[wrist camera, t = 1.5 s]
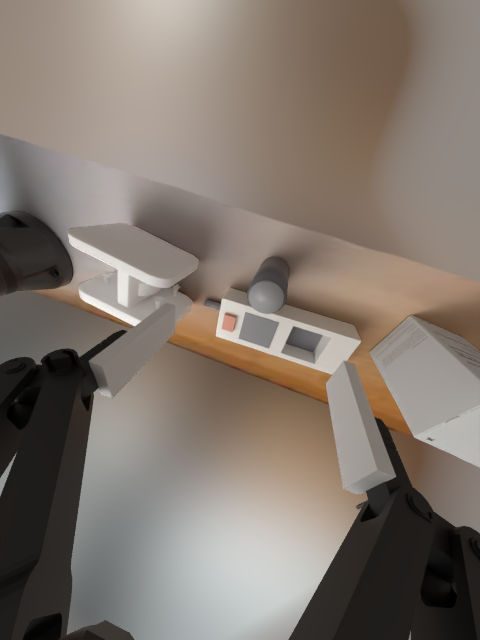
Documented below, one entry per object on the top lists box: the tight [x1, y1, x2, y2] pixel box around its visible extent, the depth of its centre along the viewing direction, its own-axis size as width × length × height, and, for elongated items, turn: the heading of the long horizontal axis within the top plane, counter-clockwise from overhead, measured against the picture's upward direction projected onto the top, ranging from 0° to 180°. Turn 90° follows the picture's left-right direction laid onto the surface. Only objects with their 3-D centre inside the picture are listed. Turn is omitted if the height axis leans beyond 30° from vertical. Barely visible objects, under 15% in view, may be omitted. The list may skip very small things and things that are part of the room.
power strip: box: [204, 288, 361, 375], centre depth 32 cm, size 26×8×5 cm, turn 78°
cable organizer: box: [68, 223, 199, 326], centre depth 30 cm, size 15×11×12 cm
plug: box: [247, 257, 289, 314], centre depth 25 cm, size 5×5×10 cm
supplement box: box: [369, 315, 480, 467], centre depth 24 cm, size 9×9×15 cm
